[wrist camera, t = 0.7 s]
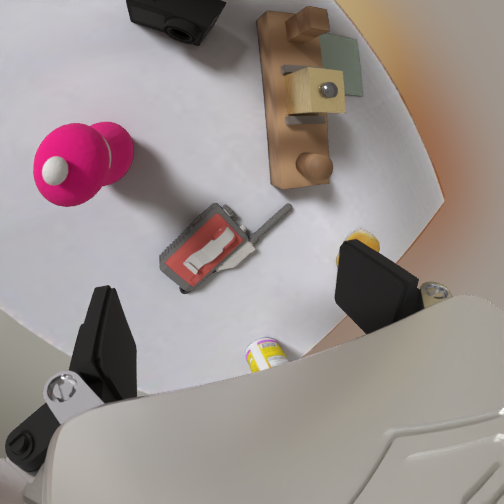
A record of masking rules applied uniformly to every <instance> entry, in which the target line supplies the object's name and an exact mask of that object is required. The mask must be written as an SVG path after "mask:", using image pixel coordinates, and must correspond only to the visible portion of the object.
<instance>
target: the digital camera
mask: <svg viewBox="0 0 504 504" xmlns="http://www.w3.org/2000/svg"><path fill="white" fill-rule="evenodd" d="M126 3H127V8H128V12H129V16H130V20H131V22H135V23H138V24H141V25H144V26H147V27H150V28H153V29H156V30H159V31H162V32H164V33H166V34H167V35H168V36H170V37H171V38H173V39H175V40H178V41H180V42H183V43H187V44H195V45H197V46H199V45H200V44H201V42H202V41H203V39H204V38H205V36H206V35H207V33H208V32H209V31H210V29H211V28H212V26H213V25H214V23H215V22H216V20H217V18H218V17H219V15H220V13H221V12H222V10H223V8H224V7H225V5H226V2H224V1H221V0H126Z"/></svg>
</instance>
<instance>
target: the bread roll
mask: <svg viewBox="0 0 504 504" xmlns="http://www.w3.org/2000/svg"><path fill="white" fill-rule="evenodd" d="M352 239H357V240H359V241H361V242H362V243H364V244H366V245H367V246H369V247H370V248H372V249H374V250H375V251H377V252H378V253H379V250H380V246H379V242H378V240H377V239H376V238H375V236H374V235H373V234H371V233H369V232H368V231H365V230H362V229H357V230H355V231H354V232H353V233H351V234H350V235H349V236H348V237H347V238H346V239H345V241H347V240H352ZM338 262H339V253H338V255H337V258H336V264H337V267H338Z"/></svg>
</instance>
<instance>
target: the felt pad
mask: <svg viewBox="0 0 504 504" xmlns="http://www.w3.org/2000/svg"><path fill="white" fill-rule="evenodd" d="M319 39H320V47H321V55H322V64H323V69H331V70H338V71H343V80H344V92H345V94H346V95H356V96H363V91H362V79H361V69H360V60H359V52H358V45H357V40H355V39H350V38H346V37H341V36H336V35H331V34H326V33H324V34H322V35H320V36H319Z"/></svg>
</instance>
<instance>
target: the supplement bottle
mask: <svg viewBox="0 0 504 504" xmlns="http://www.w3.org/2000/svg"><path fill="white" fill-rule="evenodd" d="M245 357H246V360H247V362H248V364H249V367H250V369H251V371H252V373H254V372H257V371H261V370H264V369H268V368H271V367H275V366H278V365H281V364H285V363H288V362H289V360H288V359H287V357H286V355H285V354H284V352H283V351H282V349H281V347H280V346H279V344H278V343H277V341H275V340H274V339H272V338H261V339H258V340H256V341H254V342H253V343H251V344H250V345H249V346H248V348H247V350H246V352H245Z"/></svg>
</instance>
